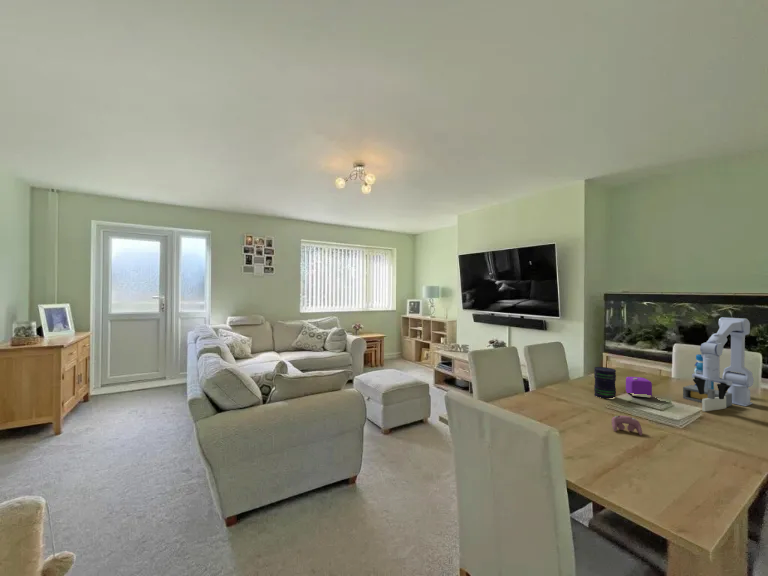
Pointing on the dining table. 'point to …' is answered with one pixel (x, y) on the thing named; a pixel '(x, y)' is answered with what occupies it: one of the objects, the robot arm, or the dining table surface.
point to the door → (713, 402)
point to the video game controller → (631, 421)
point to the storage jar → (604, 382)
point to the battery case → (693, 394)
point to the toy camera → (638, 385)
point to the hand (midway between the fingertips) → (711, 396)
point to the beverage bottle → (699, 370)
